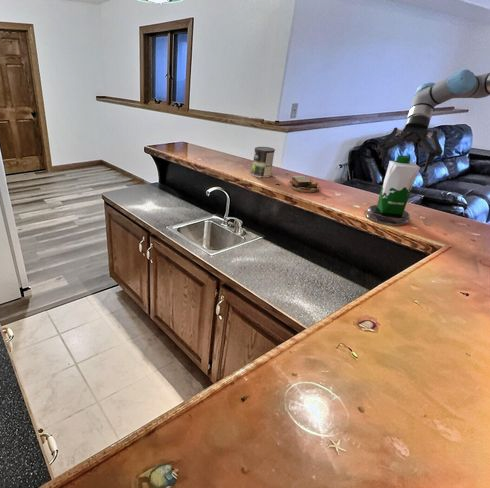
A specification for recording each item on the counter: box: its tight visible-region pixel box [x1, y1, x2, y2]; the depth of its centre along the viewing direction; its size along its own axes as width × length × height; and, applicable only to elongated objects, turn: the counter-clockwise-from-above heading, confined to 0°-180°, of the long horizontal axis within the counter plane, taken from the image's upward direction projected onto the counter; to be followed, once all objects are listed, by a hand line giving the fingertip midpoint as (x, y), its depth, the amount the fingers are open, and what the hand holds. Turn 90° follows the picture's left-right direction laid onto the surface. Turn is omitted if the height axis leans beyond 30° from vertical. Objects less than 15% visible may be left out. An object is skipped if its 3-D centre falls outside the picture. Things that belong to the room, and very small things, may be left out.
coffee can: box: [251, 146, 276, 179], centre depth 185 cm, size 10×10×14 cm
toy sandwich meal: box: [289, 175, 319, 193], centre depth 167 cm, size 12×14×5 cm
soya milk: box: [376, 155, 421, 215], centre depth 128 cm, size 9×9×20 cm
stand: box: [365, 204, 411, 228], centre depth 134 cm, size 14×14×4 cm
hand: (402, 167), depth 128 cm, fingers open, 13 cm apart
